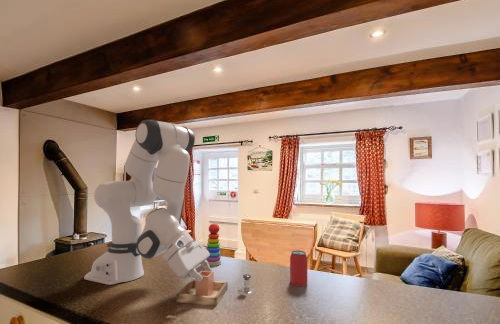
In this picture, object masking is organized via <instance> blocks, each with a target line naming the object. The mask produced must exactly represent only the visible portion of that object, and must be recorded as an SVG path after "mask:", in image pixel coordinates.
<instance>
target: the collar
mask: <svg viewBox="0 0 500 324" xmlns="http://www.w3.org/2000/svg"><path fill="white" fill-rule="evenodd" d="M198 273H199V274H202V276H203V277H204V278H203V279H202V280H201V281H200V282H198V281H197V280H196V282H195V295H202V296H211V294H212V293H213V281H214V280H215V279H214V271H211V272H209V271H205V270H200V271H199V272H198Z"/></svg>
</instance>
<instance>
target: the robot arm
mask: <svg viewBox="0 0 500 324" xmlns="http://www.w3.org/2000/svg"><path fill="white" fill-rule="evenodd" d="M134 136H135V140H134V141H133V144H132V145H131V148H130V150H129V152H128V155H127V157H126V160H125V162H124V170H125V172H126V173H127V175H128V176H130V177H131V178H130V179H129V180H112V181H111V180H110V181H107V182H101V183H100V184H98V185H97V187H96V188H95V190H94V194H93V199H94V202H95V203H96V205H97V206H98V207H99V208H100V209H102V210H104V212H105V213H106V214H107V216H108V217H109V220H110V223H111V241H110V242H109V243H106V244H105V246H104V247H105V248H107V247H108V248H107V251H105V252H104V253H103V254H101V255H100V256H99V257H98V258H96V259H95V260H94V261H93V263H92V266H91V271H89V272H87V273H86V274H85V275H84V278H83V279H84V280H87V281H90V282H95V283H98V284H99V283H100V284H103V285H104V284H105V285H109V286H111V285H116V284H119V283H126V282H130V281H131V282H132V281H133V280H137V279H139V278H141V277H143V276H144V275H145V271H144V266H143V262H142V260H143V259H142V258H144V259H147V260H151V259H153V258H156V257H157V256H159V255H162V254H163V253H164V254H163V255H162V259H163V260H164V261H165V262H167V263H168V265H169V267H170V269H171V270H172V271H173V272H174V273H175V275H176V276H178V277H179V278H184V277H186V275H188V274H189V275H190V277H192V278H194V279H196V280H197V281H198V282H200V281H201V280H202V279H203V278H204V277H203V276H202V274H199V272H198V271H197V269H196V268H197V267H199V265H201V266H202V267H203V269H204V271H209V272H213V269H212V268H211V266H209V264H208V261H207V260H206V259H207V258H208V257H209V256H210V253H209V251H208V250H207V249H206V248H207V247H205V246H204V245H203V244H202V243H201V242H200V241H199V240H198V241H197V240H195V239H194V238H193V237H192V236H191V234H190V233H189V232H188V231H187V229H186V228H184V227H183V226H182V225H181V222H182V217H183V213H184V212H183V211H184V206H185V198H186V197H185V187H186V184H187V179H188V175H189V170H190V164H191V163H190V161H191V156H190V153H189V152H190V151H191V150H192V149H193V148H194V147H195V146H194V145H195V141H196V139H195V138H196V137H195V134H194V132H193V130H192V129H190V128H188V127H187V126H183V125H179V124H176V123H173V122H165V121H159V120H155V119H145V120H142V121H141V122H140V123H139V124H138V125H137V127H136V130H135V135H134ZM155 168H156V169H155ZM154 171H155V173H154ZM153 174H154V176H153ZM157 197H158V198H159V199H160V200H162V201H165V202H166V208H165V207H159V208H156V209H154V210H152V211H150V212H149V213H148V214H147V215H146V217H145V220H144V221H145V224H144V228H143V230H142V221H141V220H140V219H139V217H137V216H134V215H133V214H132V213H131V208H132V207H143V206H147V205H150V204H152V203H154V202H155V201H156V199H157Z"/></svg>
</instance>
